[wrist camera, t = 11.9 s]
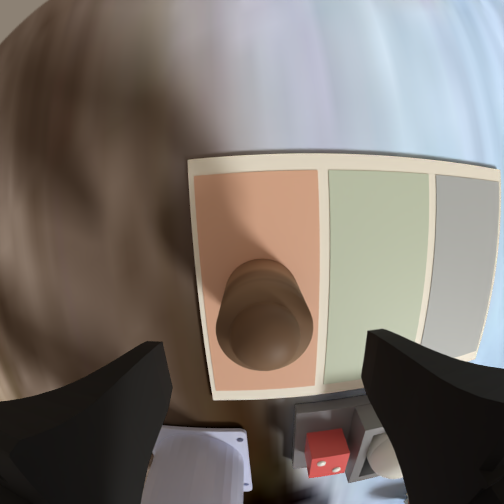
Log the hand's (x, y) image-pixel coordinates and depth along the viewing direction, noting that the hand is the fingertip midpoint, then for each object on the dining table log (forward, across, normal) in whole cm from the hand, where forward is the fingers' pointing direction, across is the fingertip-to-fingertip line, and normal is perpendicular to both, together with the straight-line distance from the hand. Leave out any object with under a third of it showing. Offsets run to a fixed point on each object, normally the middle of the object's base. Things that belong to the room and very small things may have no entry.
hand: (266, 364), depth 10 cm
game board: (+7, -7, 0) cm, 10 cm away
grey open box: (+7, -8, +12) cm, 16 cm away
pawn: (+7, 0, 0) cm, 7 cm away
